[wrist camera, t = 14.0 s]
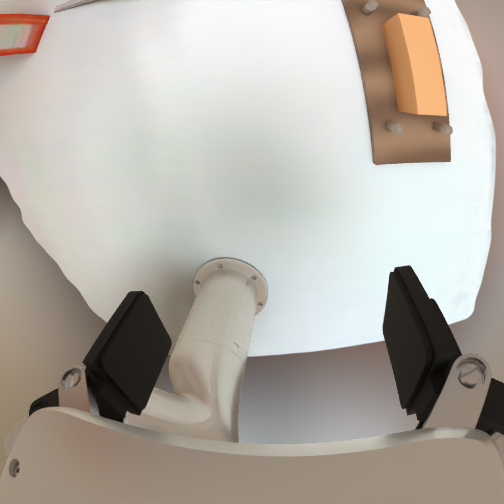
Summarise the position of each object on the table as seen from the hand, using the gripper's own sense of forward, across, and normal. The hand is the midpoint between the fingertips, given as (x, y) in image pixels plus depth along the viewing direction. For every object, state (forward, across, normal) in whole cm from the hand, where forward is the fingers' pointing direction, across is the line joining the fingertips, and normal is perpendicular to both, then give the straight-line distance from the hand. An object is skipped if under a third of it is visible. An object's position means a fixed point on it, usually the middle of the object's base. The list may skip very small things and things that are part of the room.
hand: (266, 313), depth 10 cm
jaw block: (+27, -18, -11) cm, 34 cm away
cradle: (+28, -18, -11) cm, 35 cm away
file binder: (+28, +42, -42) cm, 66 cm away
